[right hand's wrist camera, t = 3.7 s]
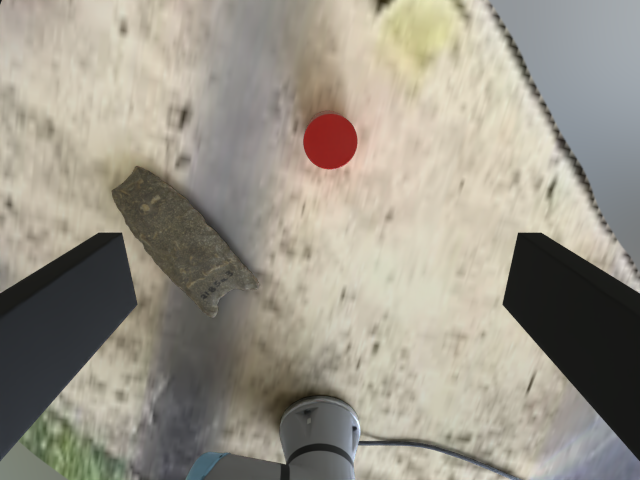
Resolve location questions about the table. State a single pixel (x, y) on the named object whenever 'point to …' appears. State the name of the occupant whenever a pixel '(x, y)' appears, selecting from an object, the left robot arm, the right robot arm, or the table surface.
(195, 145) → the table surface
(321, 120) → the tin
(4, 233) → the table surface
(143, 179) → the stone tool
